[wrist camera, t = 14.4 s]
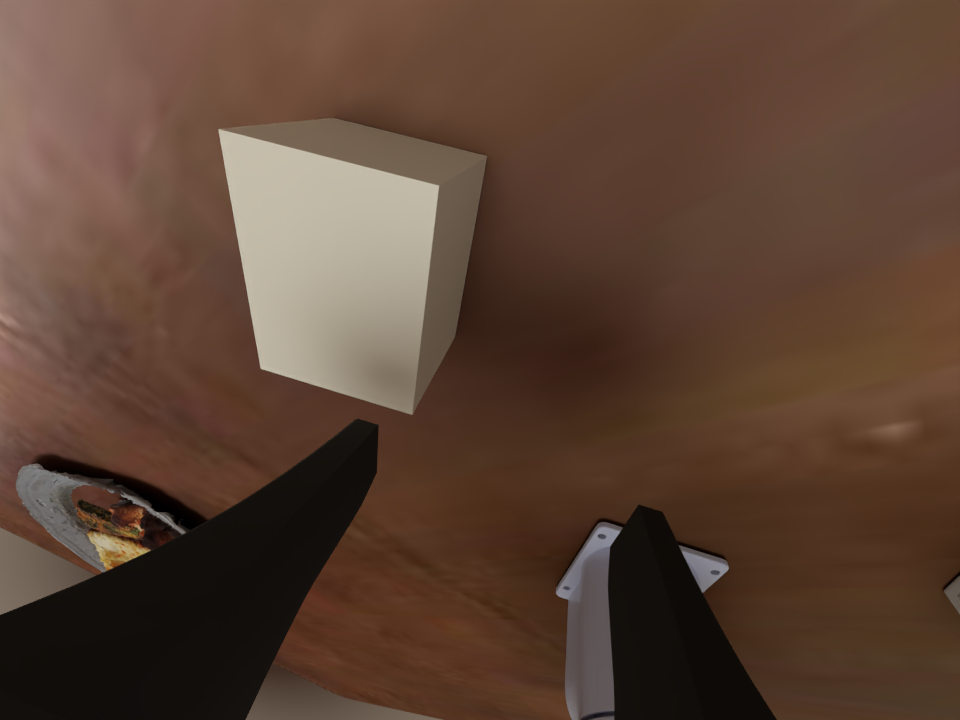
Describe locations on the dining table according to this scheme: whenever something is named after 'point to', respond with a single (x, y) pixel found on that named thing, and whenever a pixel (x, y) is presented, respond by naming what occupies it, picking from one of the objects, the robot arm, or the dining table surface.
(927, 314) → the dining table surface
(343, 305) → the cream rectangular block
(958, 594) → the supplement box
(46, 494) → the food plate
